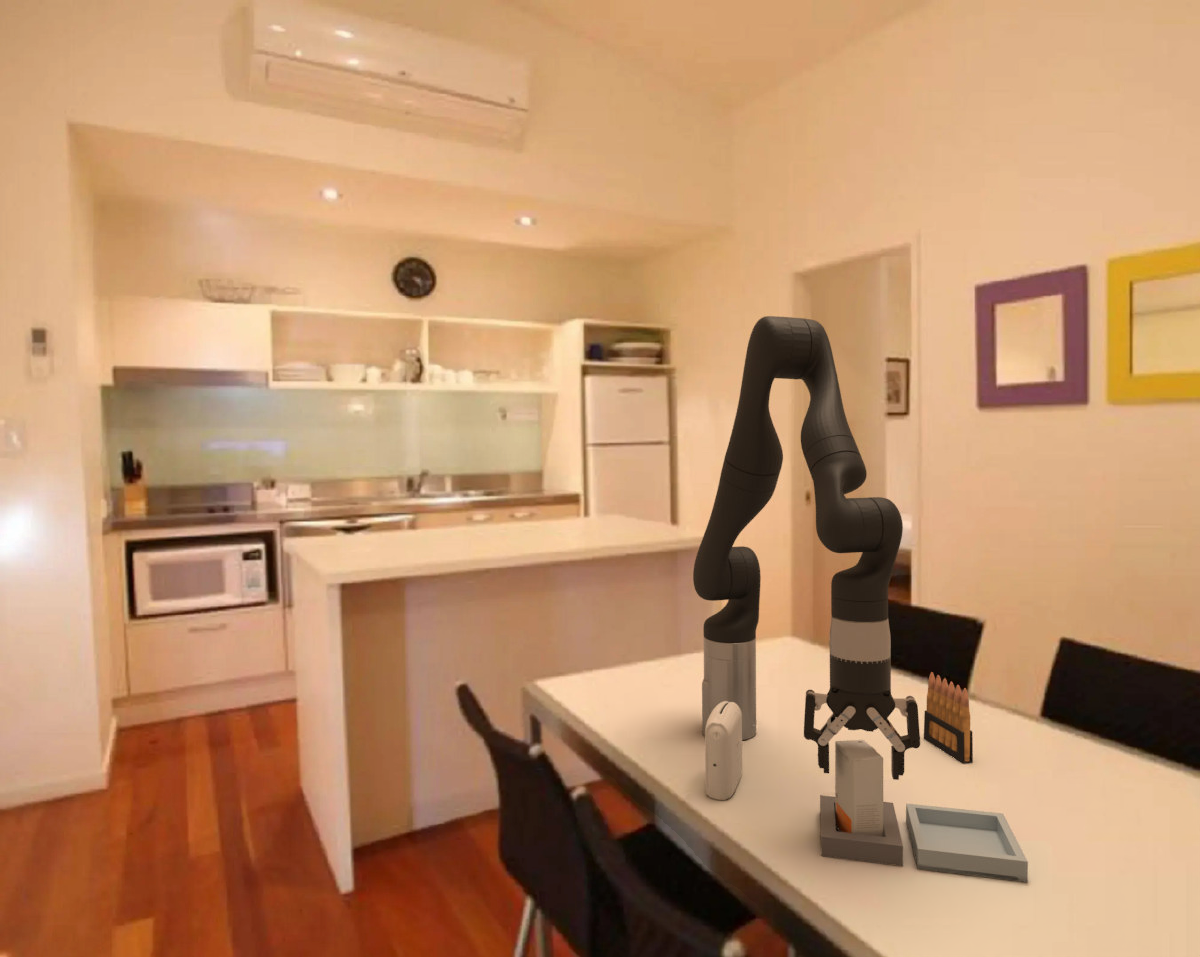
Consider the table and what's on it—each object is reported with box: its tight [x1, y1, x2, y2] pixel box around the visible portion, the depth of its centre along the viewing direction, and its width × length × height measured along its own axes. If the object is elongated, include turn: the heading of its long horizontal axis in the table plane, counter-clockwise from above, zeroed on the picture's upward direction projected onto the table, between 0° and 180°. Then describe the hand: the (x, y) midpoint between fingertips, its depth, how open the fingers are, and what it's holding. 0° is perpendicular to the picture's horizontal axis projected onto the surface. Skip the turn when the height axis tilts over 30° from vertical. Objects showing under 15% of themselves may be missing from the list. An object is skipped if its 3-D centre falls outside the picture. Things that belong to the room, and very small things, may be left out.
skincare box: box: [834, 739, 884, 837], centre depth 101 cm, size 6×4×12 cm
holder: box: [819, 794, 904, 867], centre depth 101 cm, size 10×12×2 cm
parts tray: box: [905, 803, 1029, 883], centre depth 98 cm, size 12×12×2 cm
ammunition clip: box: [923, 671, 974, 764], centre depth 128 cm, size 11×2×12 cm, turn 10°
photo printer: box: [704, 701, 743, 801], centre depth 117 cm, size 10×4×12 cm, turn 158°
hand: (860, 774), depth 101 cm, fingers open, 8 cm apart
